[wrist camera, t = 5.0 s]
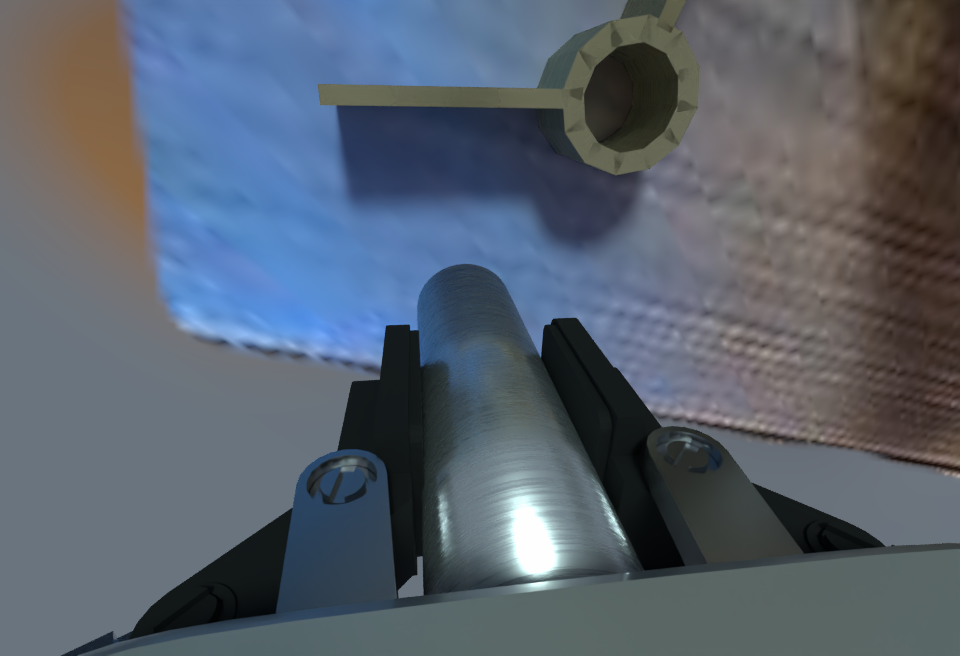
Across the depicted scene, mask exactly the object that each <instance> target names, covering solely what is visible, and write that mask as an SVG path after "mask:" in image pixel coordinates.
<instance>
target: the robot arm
mask: <svg viewBox="0 0 960 656" xmlns="http://www.w3.org/2000/svg"><path fill="white" fill-rule="evenodd" d="M541 360H542V362H543V364H544V366H545V368H546V370H547V372H548V374H549V376H550V378H551V380H552V382H553V384H554V386H555V388H556V390H557V392H558V394H559V396H560V399H561V401H562V403H563V405H564V407H565V409H566V411H567V413H568V415H569V417H570V419H571V421H572V423H573V425H574V427H575V429H576V431H577V433H578V435H579V438H580V440H581V442H582V444H583V446H584V448H585V450H586V452H587V454H588V456H589V458H590V460H591V462H592V464H593V466H594V468H595V470H596V472H597V474H598V477H599V479H600V481H601V483H602V485H603V487H604V489H605V491H606V493H607V495H608V497H609V499H610V501H611V503H612V505H613V507H614V509H615V511H616V513H617V515H618V518H619V520H620V522H621V524H622V526H623V528H624V530H625V532H626V534H627V536H628V538H629V540H630V542H631V544H632V546H633V548H634V550H635V552H636V554H637V557H638V559H639V561H640V563H641V565H642V567H643V569H644V571H637V572H628V573H619V574H610V575H601V576H592V577H583V578H574V579H565V580H556V581H547V582H538V583H529V584H520V585H511V586H502V587H493V588H484V589H476V590H467V591H459V592H450V593H441V594H433V595H424V596H416V597H407V598H398V590H399V589H400V588H401V587H402V586H403V585H404V584H405V583H406V582H407V580H409V579H410V578H411V577H412V576H414V575H417V557H419V556H423V544H422V499H421V498H422V492H423V488H424V459H423V427H422V395H421V364H420V343H419V330H413V331H410V325H388V326H386V330H385V339H384V348H383V357H382V366H381V375H380V380H369V381H353V382H352V385H351V389H350V393H349V398H348V403H347V408H346V412H345V417H344V422H343V427H342V431H341V436H340V441H339V446H338V450H337V451H336V452H331V453H329V454H327V455H325V456H322V457H320V458H318V459H317V460H315V461H314V462H312V463H311V464H310V465H308V466H307V467H306V469H305V470H304V471H303V472H302V473H301V475H300V477H299V480H298V482H297V485H296V491H295V497H294V503H293V508H291V509H290V510H288V511H287V512H285V513H284V514H282V515H281V516H279V517H278V518H277V519H275V520H274V521H273V522H271V523H269V524H268V525H266V526H265V527H263V528H262V529H261V530H259V531H258V532H256V533H255V534H253V535H252V536H250V537H249V538H247V539H246V540H244V541H243V542H241V543H240V544H239V545H237V546H236V547H234V548H233V549H231V550H230V551H228V552H227V553H225V554H224V555H222V556H221V557H220V558H218V559H217V560H215V561H214V562H212V563H211V564H209V565H208V566H206V567H205V568H203V569H202V570H201V571H199V572H198V573H196V574H195V575H193V576H192V577H190V578H189V579H187V580H186V581H184V582H183V583H181V584H180V585H179V586H177V587H176V588H174V589H173V590H171V591H170V592H168V593H167V594H166V595H164V596H163V597H162V598H161V599H160V600H158V601H157V602H156V603H155V604H154V605H152V606H151V607H150V608H149V609H148V611H147V612H146V613H145V614H144V615H143V617H142V618H141V619H140V620H139V621H138V623H137V624H136V626H135V628H134V630H133V631H131V632H129V633H127V634H125V635H123V636H121V637H119V638H117V637H116V635H115V634H114V632H113V631H112V632H110V633H107V634H106V635H103V636H101V637H99V638H97V639H95V640H93V641H91V642H89V643H86V644H85V645H82V646H80V647H78V648H76V649H74V650H72V651H70V652H67V653H65V654H63V655H61V656H960V543H942V544H928V545H927V544H926V545H902V546H895V545H891V546H888V547H886V546H885V545H883V544H882V543H881V542H880V541H879V540H877V539H876V538H874V537H873V536H871V535H870V534H869V533H867V532H866V531H864V530H862V529H860V528H858V527H856V526H854V525H852V524H850V523H848V522H845V521H843V520H841V519H838V518H836V517H833V516H831V515H829V514H826V513H824V512H821V511H819V510H817V509H814V508H812V507H809V506H807V505H804V504H802V503H799V502H797V501H795V500H792V499H790V498H788V497H785V496H783V495H780V494H778V493H776V492H773V491H771V490H768V489H766V488H763V487H761V486H759V485H756V484H754V483H751V482H750V480H749V479H748V478H747V476H746V475H745V474H744V472H743V471H742V469H741V468H740V467H739V465H738V464H737V463H736V461H735V460H734V459H733V457H732V456H731V455H730V453H729V452H728V451H727V450H726V449H725V448H724V447H723V446H722V445H721V444H720V443H719V442H718V441H716V440H715V439H713V438H712V437H710V436H709V435H706V434H704V433H702V432H700V431H697V430H694V429H690V428H686V427H678V426H669V427H661V426H660V424H659V423H658V422H657V420H656V419H655V418H654V416H653V415H652V414H651V412H650V411H649V410H648V408H647V407H646V406H645V404H644V403H643V402H642V400H641V399H640V398H639V396H638V395H637V394H636V392H635V391H634V390H633V388H632V387H631V386H630V384H629V383H628V382H627V380H626V379H625V378H624V376H623V375H622V374H621V372H620V371H619V370H618V369H617V368H615V367H613V366H612V365H611V364H610V362H609V361H608V359H607V358H606V357H605V355H604V354H603V353H602V351H601V350H600V349H599V347H598V346H597V345H596V343H595V342H594V340H593V339H592V338H591V336H590V335H589V334H588V332H587V331H586V330H585V328H584V327H583V326H582V324H581V323H580V322H579V320H578V319H577V318H558V319H553V320H552V322H551V325H545V326H544V330H543V341H542V353H541Z"/></svg>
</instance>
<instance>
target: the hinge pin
mask: <svg viewBox="0 0 960 656" xmlns="http://www.w3.org/2000/svg"><path fill="white" fill-rule="evenodd" d="M417 321H418V330H419V343H420V364H421V395H422V427H423V459H424V488H423V492H422V498H421V499H422V544H423V588H424V595H433V594H441V593H450V592H459V591H467V590H476V589H484V588H493V587H502V586H511V585H520V584H529V583H538V582H547V581H556V580H565V579H574V578H583V577H592V576H601V575H610V574H619V573H628V572H637V571H644V569H643V567H642V565H641V563H640V561H639V559H638V557H637V554H636V552H635V550H634V548H633V546H632V544H631V542H630V540H629V538H628V536H627V534H626V532H625V530H624V528H623V526H622V524H621V522H620V520H619V518H618V515H617V513H616V511H615V509H614V507H613V505H612V503H611V501H610V499H609V497H608V495H607V493H606V491H605V489H604V487H603V485H602V483H601V481H600V479H599V477H598V474H597V472H596V470H595V468H594V466H593V464H592V462H591V460H590V458H589V456H588V454H587V452H586V450H585V448H584V446H583V444H582V442H581V440H580V438H579V435H578V433H577V431H576V429H575V427H574V425H573V423H572V421H571V419H570V417H569V415H568V413H567V411H566V409H565V407H564V405H563V403H562V401H561V399H560V396H559V394H558V392H557V390H556V388H555V386H554V384H553V382H552V380H551V378H550V376H549V374H548V372H547V370H546V368H545V366H544V364H543V362H542V360H541V357H540V355H539V353H538V351H537V349H536V347H535V345H534V343H533V341H532V339H531V337H530V335H529V333H528V331H527V329H526V327H525V325H524V323H523V321H522V318H521V316H520V314H519V312H518V310H517V308H516V306H515V304H514V302H513V300H512V298H511V296H510V294H509V292H508V290H507V288H506V286H505V284H504V283H503V281H502V280H501V279H500V278H499V277H498V276H497V275H496V274H495V273H493V272H492V271H490V270H488V269H486V268H484V267H481V266H478V265H472V264H459V265H454V266H450V267H447V268H445V269H443V270H441V271H439V272H438V273H436V274H435V275H434V276H432V277H431V278H430V279H429V280H428V282H427V283H426V284H425V285H424V287H423V289H422V291H421V293H420V295H419V299H418V304H417Z"/></svg>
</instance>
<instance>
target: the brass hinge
mask: <svg viewBox="0 0 960 656" xmlns="http://www.w3.org/2000/svg"><path fill="white" fill-rule="evenodd" d="M685 1H686V0H628V2H627V4H626V6H625V9H624V11H623V14H622V16H621V18H620V20H614V21H609V22H607V23H604V24H601V25H599V26H596V27H594V28H591V29H589V30H586V31H583V32H581V33H578V34H576V35H574V36H573V37H572V38H571V39H570V40H569V41H568V42H567V43H565V44H564V45H563V46H562V47H561V48H560V49H559V50H558V51H557V52H555V53H554V54H553V55H552V56H551V57H550V58H549V59H548V61H547V64H546V67H545V69H544V72H543V74H542V77H541V80H540V82H539V85H538V88H489V87H439V86H388V85H338V84H318V90H319V98H320V105H350V106H420V107H489V108H537V114H538V125H539V128H540V130H541V131H542V133H543V134H544V136H545V137H546V138H547V140H548V141H549V143H550V144H551V146H552V147H553V149H554V150H555V152H556V153H558V154H561V155H564V156H566V157H569V158H571V159H573V160H576V161H578V162H581V163H582V164H585V165H588V166H591V167H593V168H596V169H599V170H601V171H604V172H607V173H610V174H612V175H620V174H625V173H630V172H635V171H641V170H646V169H650V168H651V167H652V166H653V165H655V164H656V163H657V162H658V161H660V160H661V159H662V158H663V157H665V156H666V155H667V154H668V153H669V152H671V151H672V150H673V149H674V148H676V147H677V146H678V145H679V144H680V142H681V140H682V138H683V136H684V134H685V132H686V130H687V128H688V126H689V124H690V122H691V120H692V118H693V116H694V114H695V112H696V110H697V109H698V87H699V65H698V63H697V61H696V59H695V57H694V54H693V52H692V50H691V48H690V46H689V44H688V42H687V40H686V38H685V36H684V34H683V32H682V31H680V30H678V29H676V28H675V27H674V25H675V23H676V21H677V19H678V17H679V15H680V12H681V10H682V8H683V6H684V4H685ZM608 55H610V56H612V57H614V58H616V59H618V60H620V61H622V63H623V65H624V67H625V68H626V70H627V72H628V74H629V76H630V77H631V79H632V89H633V105H632V107H631V109H630V112H629V114H628V116H627V118H626V120H625V123H624V125H623V127H621V128H620V129H619V130H618V131H617V132H615V133H614V134H613V135H612V136H611V137H609V138H608V139H607V140H606V141H601V142H597V140H596V139H595V137H594V136H593V134H592V132H591V131H590V129H589V128H588V126H587V125H586V123H585V107H584V93H585V90H586V88H587V85H588V83H589V81H590V78H591V76H592V73H593V71H594V69H595V66H596V65H597V64H598V63H600V62H601V61H602V60H603V59H604V58H605V57H606V56H608Z"/></svg>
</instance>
